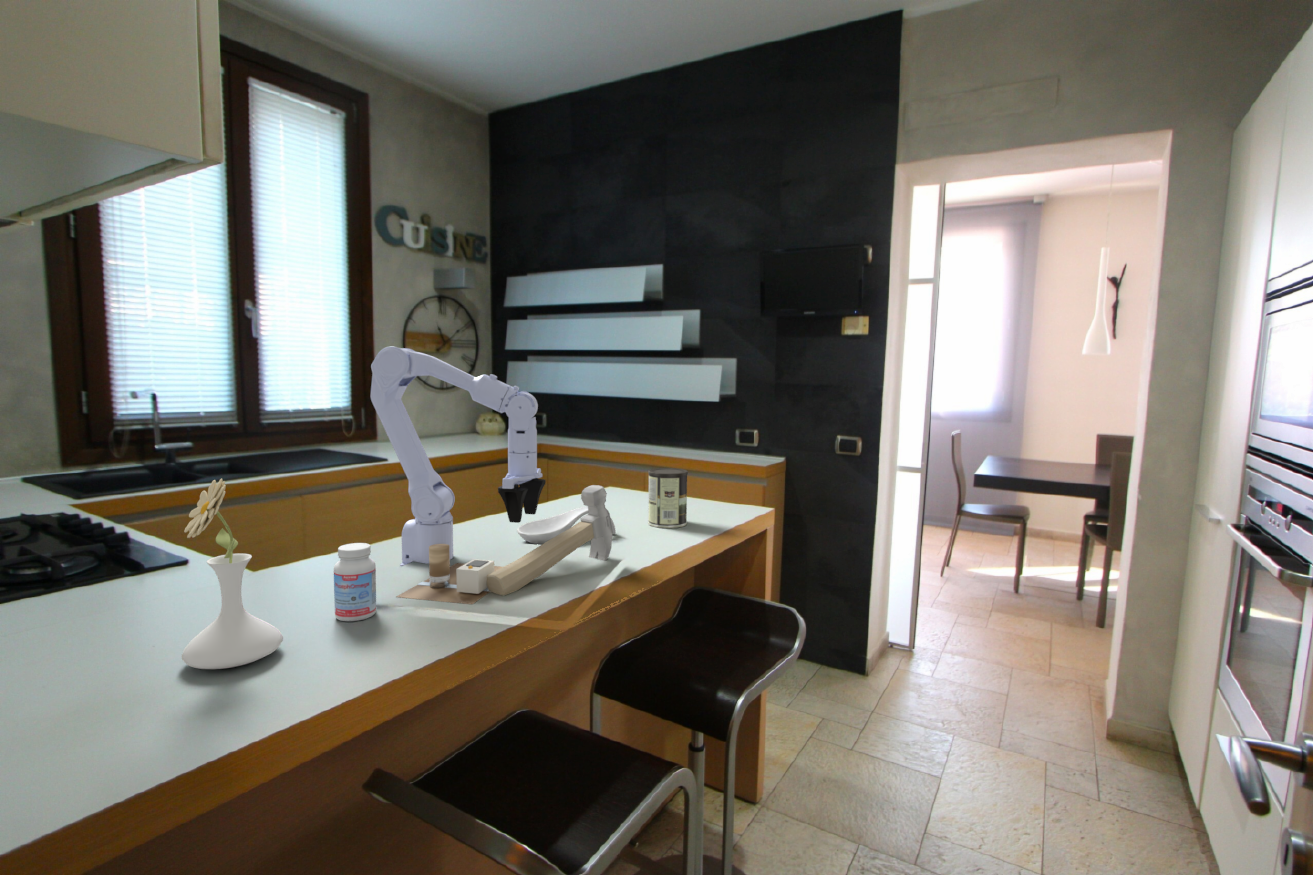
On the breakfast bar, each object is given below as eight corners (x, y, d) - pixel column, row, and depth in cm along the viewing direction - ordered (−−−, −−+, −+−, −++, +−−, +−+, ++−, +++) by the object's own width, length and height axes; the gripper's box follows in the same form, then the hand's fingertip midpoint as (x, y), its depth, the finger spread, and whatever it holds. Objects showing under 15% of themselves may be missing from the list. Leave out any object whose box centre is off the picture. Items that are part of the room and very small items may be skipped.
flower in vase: (194, 648, 89) (184, 470, 86) (288, 635, 93) (281, 467, 91) (166, 691, 77) (153, 487, 74) (276, 674, 81) (267, 481, 79)
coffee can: (673, 517, 174) (674, 466, 173) (694, 525, 165) (695, 472, 164) (640, 521, 169) (641, 469, 168) (660, 530, 160) (661, 474, 159)
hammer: (495, 550, 105) (608, 485, 128) (477, 545, 108) (591, 483, 131) (512, 632, 110) (618, 556, 133) (494, 626, 112) (601, 552, 136)
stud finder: (456, 591, 109) (456, 566, 108) (473, 580, 115) (473, 556, 114) (478, 593, 108) (478, 568, 107) (494, 582, 114) (494, 558, 113)
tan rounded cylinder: (443, 588, 111) (442, 549, 110) (425, 587, 111) (425, 548, 111) (453, 582, 114) (453, 544, 113) (436, 581, 115) (435, 543, 114)
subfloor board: (395, 603, 107) (395, 596, 107) (456, 568, 126) (456, 562, 126) (472, 611, 104) (472, 603, 104) (522, 574, 123) (522, 567, 123)
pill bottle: (331, 624, 98) (328, 552, 97) (339, 610, 104) (337, 542, 103) (373, 620, 100) (371, 550, 98) (379, 606, 105) (377, 540, 104)
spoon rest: (526, 551, 140) (526, 519, 139) (510, 539, 150) (510, 509, 149) (622, 539, 152) (622, 509, 151) (601, 528, 162) (601, 500, 161)
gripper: (526, 457, 121) (526, 527, 122) (554, 448, 135) (554, 511, 136) (492, 455, 122) (492, 524, 124) (523, 447, 136) (523, 509, 138)
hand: (522, 517), depth 130 cm, fingers open, 7 cm apart
